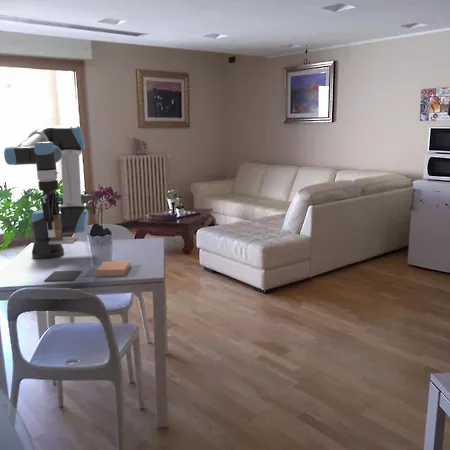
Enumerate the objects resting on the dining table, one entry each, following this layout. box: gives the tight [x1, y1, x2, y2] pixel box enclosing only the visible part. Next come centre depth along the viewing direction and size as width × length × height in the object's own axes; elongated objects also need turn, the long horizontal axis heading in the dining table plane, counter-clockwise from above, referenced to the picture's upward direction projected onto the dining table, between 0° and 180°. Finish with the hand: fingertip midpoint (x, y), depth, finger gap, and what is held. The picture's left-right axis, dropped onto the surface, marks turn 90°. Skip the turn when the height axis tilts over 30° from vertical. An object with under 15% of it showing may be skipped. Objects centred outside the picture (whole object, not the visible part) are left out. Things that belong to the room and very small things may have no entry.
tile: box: [97, 260, 132, 276], centre depth 206 cm, size 12×2×12 cm
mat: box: [83, 264, 142, 278], centre depth 206 cm, size 15×22×1 cm
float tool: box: [48, 215, 80, 245], centre depth 196 cm, size 8×10×11 cm
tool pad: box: [43, 270, 82, 283], centre depth 200 cm, size 12×12×1 cm
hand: (54, 235), depth 196 cm, fingers closed on float tool, 4 cm apart
